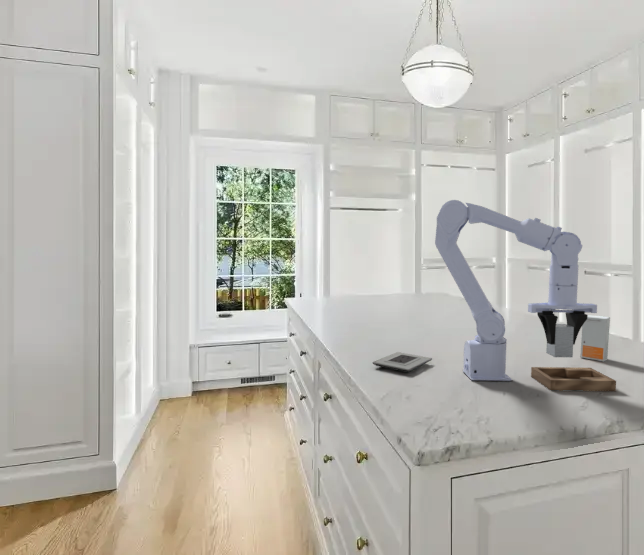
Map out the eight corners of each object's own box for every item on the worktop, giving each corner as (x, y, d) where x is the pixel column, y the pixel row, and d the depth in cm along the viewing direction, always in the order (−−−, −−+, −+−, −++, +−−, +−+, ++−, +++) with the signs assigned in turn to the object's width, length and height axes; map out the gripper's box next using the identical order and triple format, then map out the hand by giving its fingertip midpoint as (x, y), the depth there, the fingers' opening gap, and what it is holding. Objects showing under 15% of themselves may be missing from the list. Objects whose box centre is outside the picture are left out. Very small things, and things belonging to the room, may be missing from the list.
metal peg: (554, 357, 99) (555, 326, 99) (546, 352, 103) (547, 323, 103) (572, 357, 99) (573, 326, 99) (563, 353, 103) (564, 323, 103)
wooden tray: (550, 390, 97) (550, 380, 96) (531, 376, 106) (531, 367, 106) (615, 391, 96) (616, 380, 96) (590, 377, 106) (590, 367, 106)
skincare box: (579, 358, 123) (581, 316, 122) (583, 355, 126) (585, 314, 125) (605, 362, 119) (607, 318, 118) (608, 359, 122) (610, 316, 121)
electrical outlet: (397, 359, 124) (397, 350, 124) (432, 365, 118) (432, 356, 117) (372, 369, 114) (372, 360, 114) (408, 377, 108) (408, 368, 107)
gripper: (538, 286, 96) (536, 347, 97) (606, 286, 95) (603, 348, 96) (525, 283, 103) (523, 340, 104) (588, 283, 102) (585, 340, 103)
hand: (560, 343), depth 101 cm, fingers closed on metal peg, 4 cm apart
